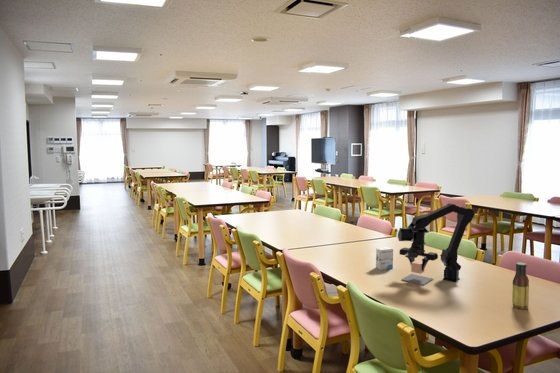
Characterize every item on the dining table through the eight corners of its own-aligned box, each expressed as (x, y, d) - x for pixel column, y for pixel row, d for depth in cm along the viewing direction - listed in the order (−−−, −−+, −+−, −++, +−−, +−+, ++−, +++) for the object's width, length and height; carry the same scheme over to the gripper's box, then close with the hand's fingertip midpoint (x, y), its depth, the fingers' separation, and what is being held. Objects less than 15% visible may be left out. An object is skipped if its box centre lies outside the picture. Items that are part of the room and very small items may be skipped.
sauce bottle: (522, 304, 184) (525, 261, 181) (531, 310, 177) (534, 265, 175) (508, 304, 183) (510, 261, 181) (516, 310, 177) (519, 265, 175)
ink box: (388, 266, 241) (389, 246, 240) (393, 268, 236) (393, 248, 235) (375, 267, 239) (375, 247, 238) (379, 270, 234) (380, 250, 233)
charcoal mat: (433, 279, 217) (433, 278, 217) (423, 285, 209) (423, 284, 209) (411, 274, 225) (411, 273, 225) (401, 280, 217) (401, 279, 217)
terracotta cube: (424, 271, 217) (424, 262, 216) (420, 273, 213) (420, 264, 212) (415, 269, 220) (415, 260, 219) (411, 271, 216) (411, 262, 216)
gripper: (394, 240, 215) (394, 269, 217) (429, 246, 203) (428, 277, 204) (404, 237, 223) (403, 265, 225) (438, 242, 211) (437, 272, 212)
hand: (417, 269), depth 216 cm, fingers closed on terracotta cube, 5 cm apart
